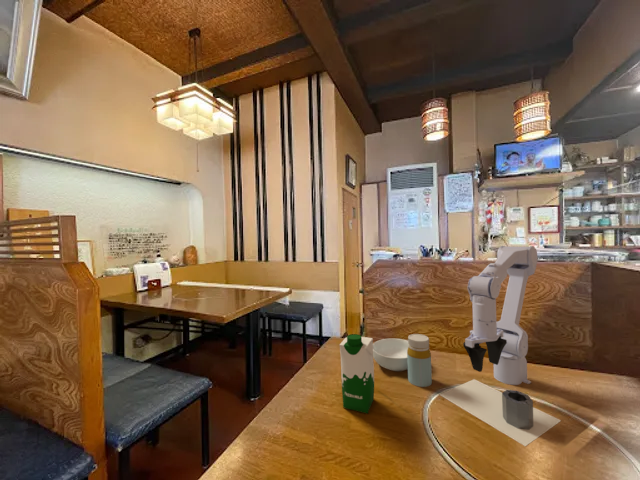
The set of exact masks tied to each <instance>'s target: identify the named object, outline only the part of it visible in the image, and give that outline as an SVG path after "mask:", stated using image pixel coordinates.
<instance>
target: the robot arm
mask: <svg viewBox="0 0 640 480" xmlns="http://www.w3.org/2000/svg"><path fill="white" fill-rule="evenodd" d="M496 252H497V253H496V257H497V258H496V260H495V261H494V263H493V262H492V263H491V262H490V263H489V264H488V265H487V266H486V267H485V268H484V269H483V270H482V271H481V272H480V273H479V274H478V275H473V276H472V277H470V278H469V279H468V282H467V292H468V295H469V301H470V302H471V303H472V307H471V308H472V329H471V330H469V336H468V337H466V338H465V339H464V340H465V341H464V342H463V344H462V345H463V348H464V349H465V351H466V353H467V355H468V357H469V360H470V362H471V366H472V368H473V370H475V371H476V372H479V373H481V372H482V371H483V367H484V357H485V355H486V353H487V356H488V357H487V358H488V361H489V363H492V364H493V365H492V366H493V377H494V379H495V380H497V381H499V382H500V383H503V384H506V385H510V386H518V385H519V386H520V385H521V384H522V382H523V383H525V384H527V385H529V384H531V383H532V381H530V380H528V361H527V359H526V356H527V354H528V350H529V342H528V340H529V335H528V333H527V331H526V330H524V328H522V327H521V326H520V321H521V315H522V310H523V306H524V304H523V303H524V299H525V294H526V287H527V284H528V283H527V282H528V280H529V277H530V276H532V275H534V274H535V273H536V270H537V265H538V258H539V257H538V250H537V248H536V247H535V246H533V245H530V246H525V245H523V246H522V245H521V246H520V245H519V246H517V245H516V246H515V245H514V246H513V245H512V246H509V245H508V246H507V245H506V246H505V245H500V246H499V247H498V249H497V251H496ZM507 277H509V279H508V282H507V287H506V292H505V296H504V302H503V305H502V312H501V316H500V319H499V320H497V298H498V297H499V295H500V290H501V288H502V284H503V283H504V281H505V280H506V278H507ZM483 343H485V345H486V348H484V347H482V346H481V345H480V344H483Z"/></svg>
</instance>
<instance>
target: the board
mask: <svg viewBox="0 0 640 480" xmlns="http://www.w3.org/2000/svg"><path fill="white" fill-rule="evenodd" d="M502 393H503V392H502V391H500V390H497V389H496V388H493V387H491V386H490V385H487V384H485V383H483V382H481V381H479V380H477V379H475V378H473V379H472V380H469V381H467V382H464V383H462V384H460V385H457V386H455V387H452V388H451V389H448V390H445V391H444V392H442V393H439V394H438V396H441V397H442V398H443V399H446V400H448V401H449V402H450V403H452V404H454V405H456V406H457V407H458V408H461V409H462V410H463V411H465V412H468V413H469V414H470V415H472V416H473V417H476V418H477V419H479V420H480V421H482V422H483V423H485V424H488V425H489V426H490V427H491V428H494V429H495V430H497V431H499V432H500V433H502V434H504V435H506V436H507V437H509V438H510V439H513V440H514V441H516V442H517V443H519V444H520V445H523V447H527V446H529V445H530V444H531V443H533V442H534V441H535V440H537V439H538V438H539V437H541V436H543V434H545V433H546V432H547V431H550V429H552V428H553V427H554V426H556V425H557V424H559V423H560V422H561V421H562V420H561V419H559V418H557V417H555V416H553V415H550V414H549V413H546V412H544V411H542V410H540V409H538V408H536V407H534V406H533V427H532V428H531V429H529V430H526V429H518V428H516V427H514V426H512V425H510V424H508V423H507V422H506V421H505V419H504V418H503V409H502Z"/></svg>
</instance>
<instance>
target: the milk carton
mask: <svg viewBox="0 0 640 480" xmlns="http://www.w3.org/2000/svg"><path fill="white" fill-rule="evenodd" d="M373 344H374V339H373V337H367V336H366V337H365V336H361V335H360V334H358V333H357V334H356V333H351V334H348V335H347V336H345V338H343V340H342V341H341V342H340V343H339V353H340V367H341V369H340V372H341V373H340V374H341V377H340V378H341V393H342V408H343V409H348V410H351V411H354V412H355V411H356V412H360V413H363V414H369V412H370V409H371V406H372V403H373V401H374V400H375V365H374V361H375V360H374V357H373Z"/></svg>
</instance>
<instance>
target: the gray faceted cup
mask: <svg viewBox="0 0 640 480" xmlns="http://www.w3.org/2000/svg"><path fill="white" fill-rule="evenodd" d="M533 407H534V400H532V398H531V397H530V396H529V394H526V393H523V392H521V391H519V390H513V389H512V390H511V389H506V390H504V391H503V392H502V409H503V418H504V419H505V421H506V422H507V423H508V424H510V425H512V426H514V427H516V428H518V429H526V430H529V429H531V428H532V427H533Z"/></svg>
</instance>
